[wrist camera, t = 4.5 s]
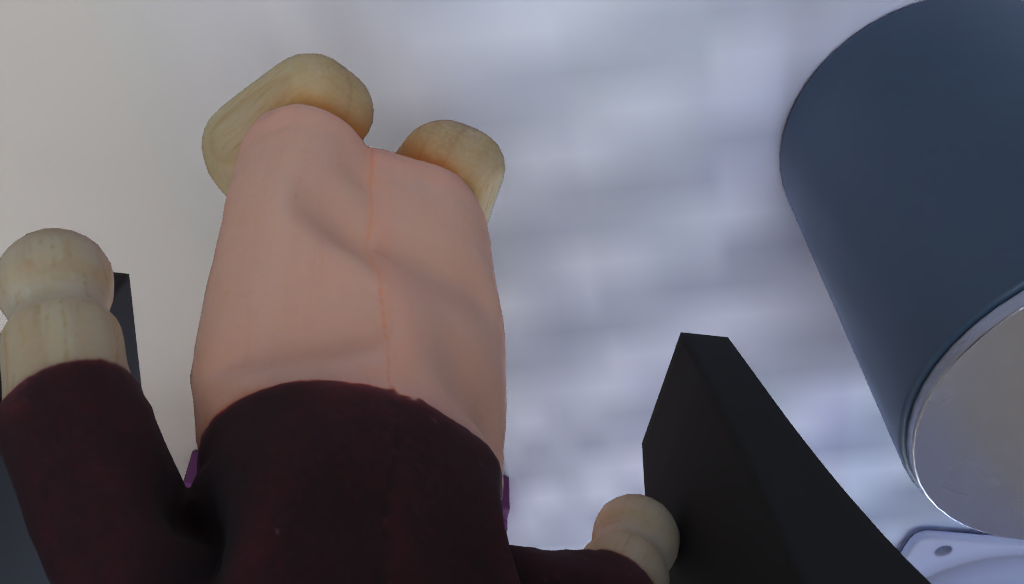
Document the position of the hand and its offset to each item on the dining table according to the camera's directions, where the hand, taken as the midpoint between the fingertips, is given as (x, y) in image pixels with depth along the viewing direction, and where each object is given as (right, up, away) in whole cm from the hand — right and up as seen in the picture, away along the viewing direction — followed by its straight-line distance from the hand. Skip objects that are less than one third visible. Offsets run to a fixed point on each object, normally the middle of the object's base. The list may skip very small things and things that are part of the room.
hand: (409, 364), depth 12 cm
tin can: (+11, +4, +10) cm, 15 cm away
